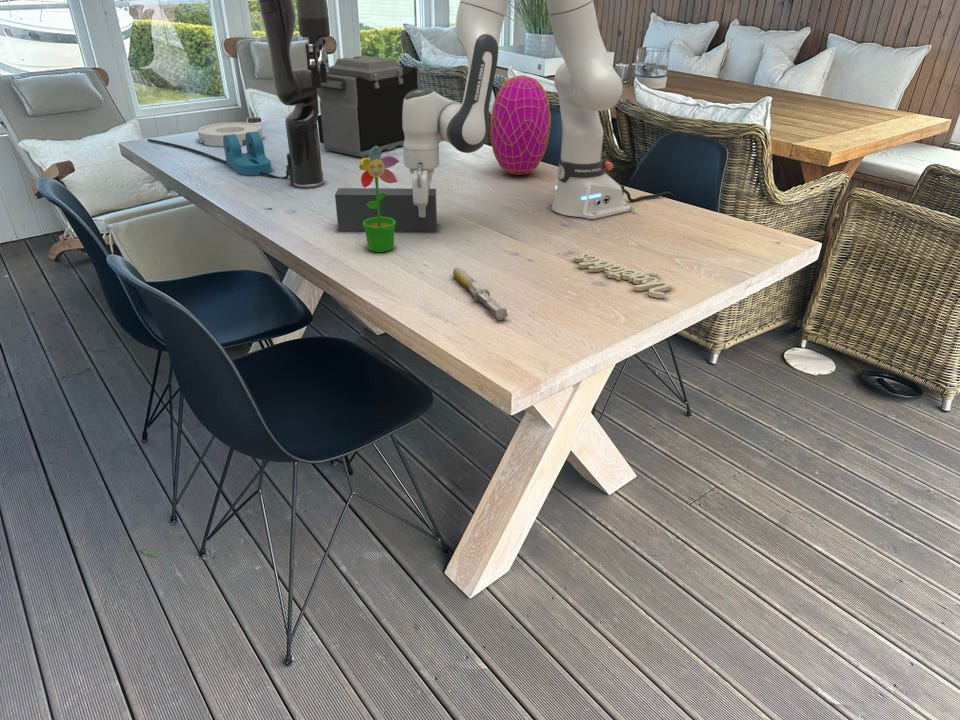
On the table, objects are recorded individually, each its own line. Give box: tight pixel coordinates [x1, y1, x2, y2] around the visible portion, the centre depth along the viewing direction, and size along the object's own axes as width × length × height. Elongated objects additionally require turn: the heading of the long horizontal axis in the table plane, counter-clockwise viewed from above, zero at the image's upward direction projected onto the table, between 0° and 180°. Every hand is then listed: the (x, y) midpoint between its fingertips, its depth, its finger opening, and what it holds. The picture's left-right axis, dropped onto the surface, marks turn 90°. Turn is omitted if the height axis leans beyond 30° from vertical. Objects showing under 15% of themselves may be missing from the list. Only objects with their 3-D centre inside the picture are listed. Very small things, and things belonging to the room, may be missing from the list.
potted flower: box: [358, 146, 400, 253], centre depth 162 cm, size 9×8×25 cm
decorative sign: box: [574, 252, 671, 299], centre depth 155 cm, size 26×1×10 cm
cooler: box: [317, 55, 420, 159], centre depth 250 cm, size 37×22×30 cm, turn 144°
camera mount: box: [223, 131, 272, 176], centre depth 226 cm, size 18×10×10 cm, turn 35°
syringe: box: [452, 266, 509, 321], centre depth 145 cm, size 25×4×3 cm, turn 21°
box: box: [334, 187, 438, 233], centre depth 179 cm, size 25×6×10 cm, turn 91°
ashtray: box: [197, 121, 264, 147], centre depth 263 cm, size 23×23×4 cm
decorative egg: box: [489, 75, 552, 176], centre depth 220 cm, size 19×19×30 cm
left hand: (320, 85), depth 178 cm, fingers open, 8 cm apart
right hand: (423, 211), depth 179 cm, fingers closed on box, 6 cm apart
